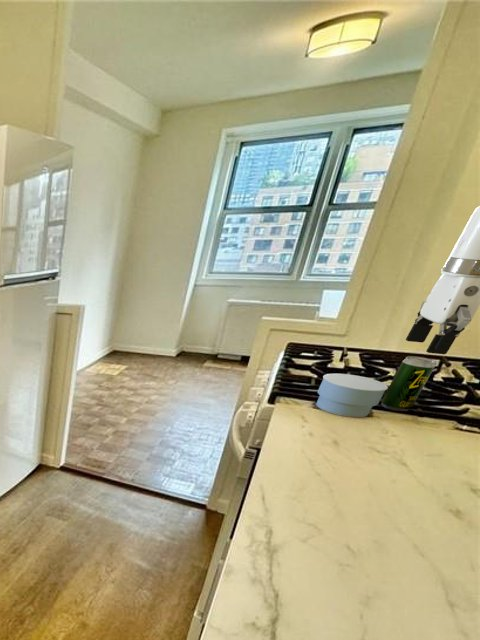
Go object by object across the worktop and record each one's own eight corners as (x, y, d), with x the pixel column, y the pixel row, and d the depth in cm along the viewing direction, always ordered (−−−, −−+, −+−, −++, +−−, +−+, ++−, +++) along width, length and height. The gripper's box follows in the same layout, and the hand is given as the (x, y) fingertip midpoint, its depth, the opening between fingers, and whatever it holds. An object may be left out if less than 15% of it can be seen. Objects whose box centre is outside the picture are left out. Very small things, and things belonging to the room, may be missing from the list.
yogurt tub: (362, 404, 119) (375, 377, 115) (382, 422, 110) (397, 393, 106) (305, 397, 123) (316, 371, 119) (319, 414, 114) (332, 386, 110)
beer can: (373, 404, 119) (398, 356, 113) (391, 402, 119) (416, 355, 114) (398, 412, 114) (424, 363, 108) (416, 411, 115) (444, 362, 109)
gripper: (521, 275, 93) (468, 360, 102) (470, 263, 107) (427, 339, 115) (469, 272, 96) (421, 356, 104) (425, 261, 110) (386, 335, 118)
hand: (424, 347), depth 110 cm, fingers open, 9 cm apart
